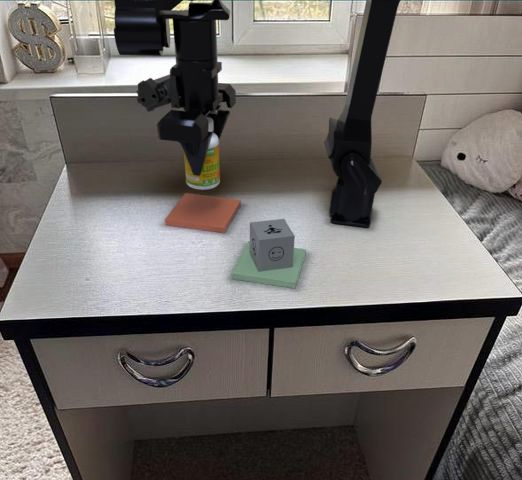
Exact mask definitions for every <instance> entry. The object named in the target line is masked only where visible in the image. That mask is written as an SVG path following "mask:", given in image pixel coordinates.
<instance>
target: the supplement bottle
mask: <svg viewBox="0 0 522 480" xmlns="http://www.w3.org/2000/svg"><path fill="white" fill-rule="evenodd" d="M206 118H207V119H208V124H209V129H208V131H209V132H212V131H213V130H214V129H213V128H214V127H213V119H212V118H210V117H206ZM183 157H184V158H183V159H184V170H185V171H184V173H185V183H186V185H187V186H188V187H190V188H192V189H195V190H202V191H203V190H204V191H205V190H211V189H214V188H216V187H218V186H219V185H220V182H221V173H220V172H221V168H220V167H221V166H220V139H218V137H217V135H216V134H215V133H213V134H212V138H211V141H210V145H209V148H208V151H207V155H206V159H205V162H204V166H203V169H202V172H201V175H200V176H196V175H193V173H192V170H191V168H190V165H189V163H188V160H187V157H186V155H185V152H184V151H183Z"/></svg>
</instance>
